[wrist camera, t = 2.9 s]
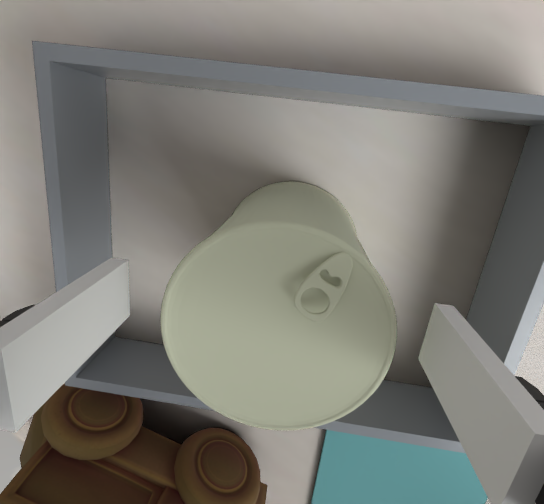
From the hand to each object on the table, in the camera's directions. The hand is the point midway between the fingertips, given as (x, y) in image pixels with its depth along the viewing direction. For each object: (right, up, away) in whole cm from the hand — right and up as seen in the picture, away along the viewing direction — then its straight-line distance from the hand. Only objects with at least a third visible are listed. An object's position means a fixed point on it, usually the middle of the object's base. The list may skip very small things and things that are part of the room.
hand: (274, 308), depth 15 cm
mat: (+11, -19, +15) cm, 26 cm away
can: (+1, +3, +9) cm, 10 cm away
